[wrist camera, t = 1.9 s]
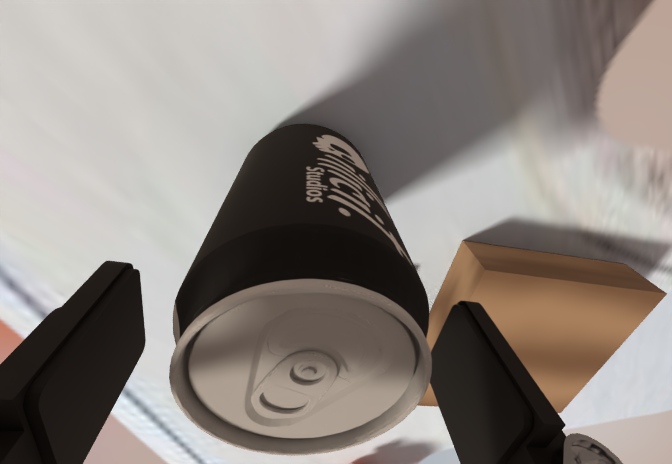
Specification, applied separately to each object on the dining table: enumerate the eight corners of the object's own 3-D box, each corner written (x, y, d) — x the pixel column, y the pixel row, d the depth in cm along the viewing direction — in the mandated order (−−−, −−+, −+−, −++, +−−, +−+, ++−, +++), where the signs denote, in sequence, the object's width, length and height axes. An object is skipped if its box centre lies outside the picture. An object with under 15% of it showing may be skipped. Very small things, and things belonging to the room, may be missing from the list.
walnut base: (462, 240, 20) (485, 269, 18) (625, 264, 22) (666, 293, 20) (403, 368, 26) (414, 405, 23) (537, 378, 28) (560, 412, 25)
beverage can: (391, 163, 17) (514, 344, 7) (325, 253, 20) (346, 483, 10) (280, 92, 15) (225, 203, 5) (222, 203, 18) (106, 429, 7)
